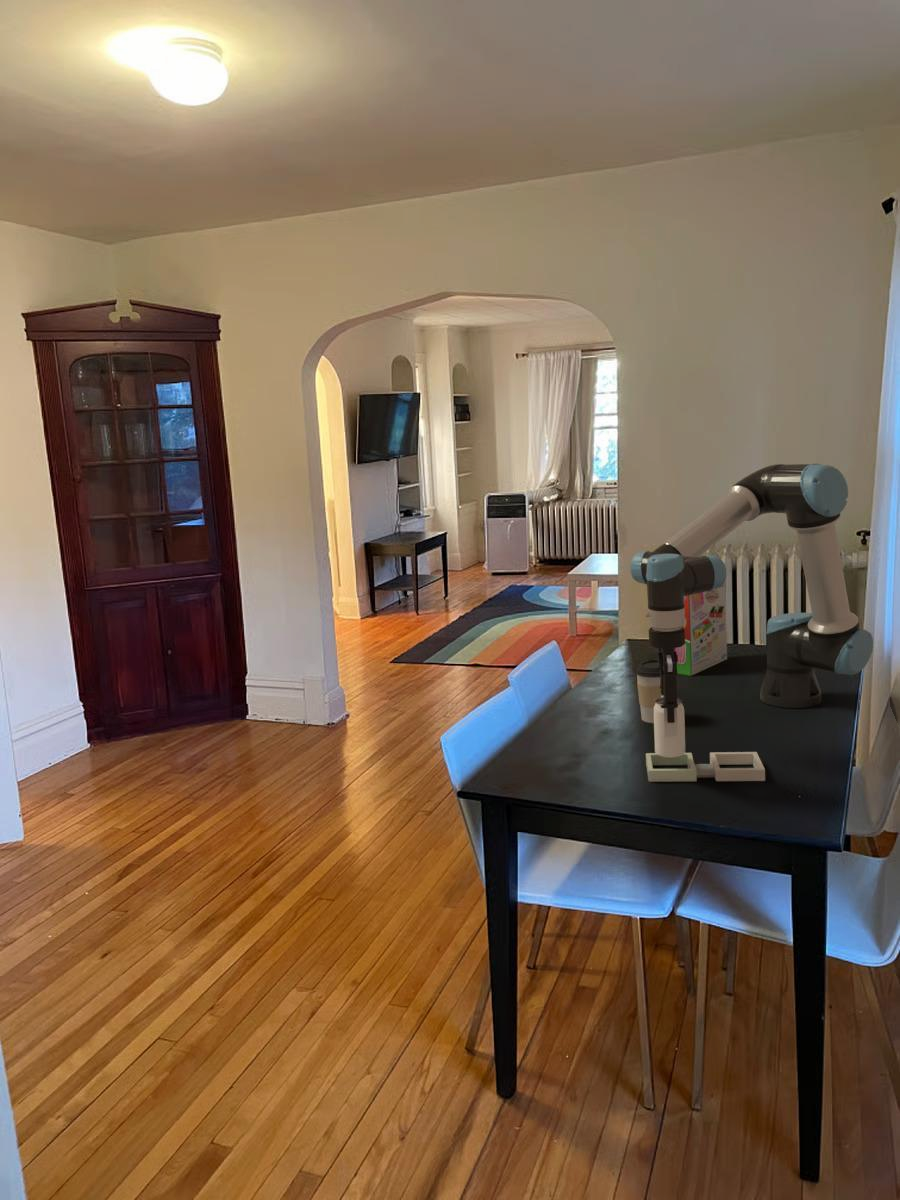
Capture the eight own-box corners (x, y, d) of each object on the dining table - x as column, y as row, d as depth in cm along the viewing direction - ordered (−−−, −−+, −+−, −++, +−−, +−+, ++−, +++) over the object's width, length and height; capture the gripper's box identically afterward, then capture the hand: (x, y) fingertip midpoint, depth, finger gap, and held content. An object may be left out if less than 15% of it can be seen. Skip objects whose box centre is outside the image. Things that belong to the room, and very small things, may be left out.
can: (667, 761, 188) (665, 707, 186) (649, 751, 194) (647, 700, 191) (691, 754, 190) (690, 702, 188) (672, 745, 196) (671, 694, 194)
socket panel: (756, 762, 195) (756, 751, 194) (765, 780, 185) (765, 769, 184) (646, 763, 199) (645, 753, 198) (648, 781, 189) (648, 770, 188)
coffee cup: (674, 724, 222) (672, 667, 219) (637, 724, 224) (635, 668, 221) (672, 712, 230) (670, 657, 227) (637, 712, 232) (635, 658, 229)
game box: (712, 657, 277) (710, 573, 272) (728, 660, 273) (726, 574, 268) (675, 673, 264) (672, 585, 258) (691, 676, 260) (688, 586, 254)
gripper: (645, 617, 196) (649, 715, 201) (651, 639, 178) (654, 746, 182) (680, 616, 195) (682, 714, 200) (689, 637, 176) (692, 746, 181)
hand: (669, 729), depth 191 cm, fingers closed on can, 6 cm apart
